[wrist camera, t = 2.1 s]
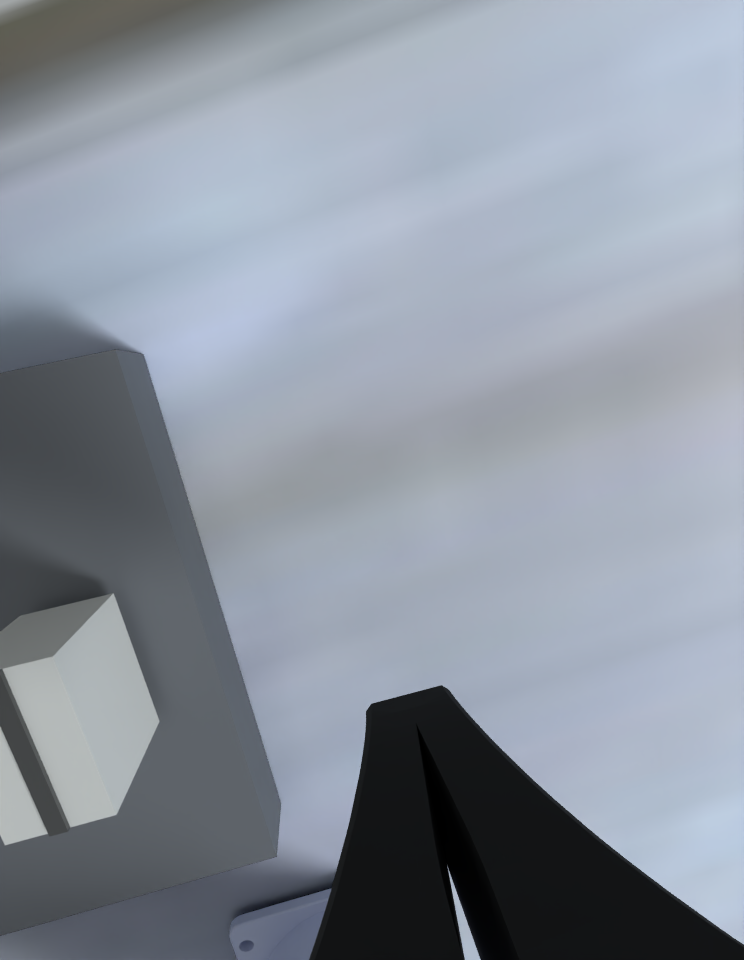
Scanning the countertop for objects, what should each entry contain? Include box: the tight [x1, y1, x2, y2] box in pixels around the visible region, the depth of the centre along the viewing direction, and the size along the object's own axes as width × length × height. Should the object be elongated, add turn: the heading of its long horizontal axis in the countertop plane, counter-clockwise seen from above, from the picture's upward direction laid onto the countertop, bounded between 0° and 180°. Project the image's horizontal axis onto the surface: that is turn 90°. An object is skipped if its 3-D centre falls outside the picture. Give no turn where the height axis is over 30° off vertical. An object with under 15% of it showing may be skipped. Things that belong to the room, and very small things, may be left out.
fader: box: [0, 593, 159, 845], centre depth 11 cm, size 4×2×3 cm, turn 12°
